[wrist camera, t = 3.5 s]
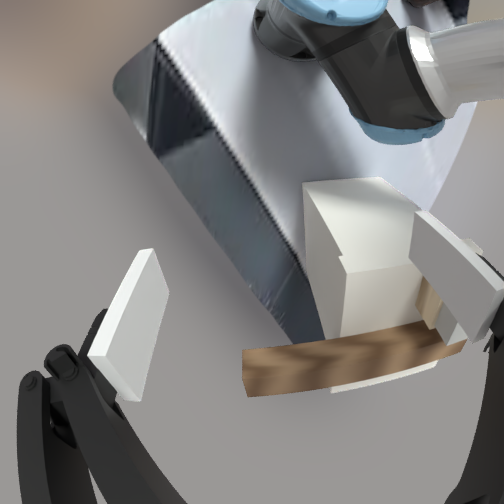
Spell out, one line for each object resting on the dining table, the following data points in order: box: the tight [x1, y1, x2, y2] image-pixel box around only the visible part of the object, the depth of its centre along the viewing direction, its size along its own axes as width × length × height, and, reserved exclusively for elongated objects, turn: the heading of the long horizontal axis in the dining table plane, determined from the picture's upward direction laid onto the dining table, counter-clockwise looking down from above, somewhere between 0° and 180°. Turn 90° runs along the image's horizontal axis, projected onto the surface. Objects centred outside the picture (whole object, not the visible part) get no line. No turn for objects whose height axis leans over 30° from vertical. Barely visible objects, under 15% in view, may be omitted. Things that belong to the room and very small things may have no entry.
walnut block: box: [242, 320, 468, 397], centre depth 29 cm, size 28×4×4 cm, turn 97°
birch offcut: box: [415, 276, 443, 330], centre depth 25 cm, size 6×5×4 cm
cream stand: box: [302, 177, 483, 393], centre depth 43 cm, size 18×22×30 cm
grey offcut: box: [434, 302, 468, 346], centre depth 22 cm, size 5×4×3 cm
